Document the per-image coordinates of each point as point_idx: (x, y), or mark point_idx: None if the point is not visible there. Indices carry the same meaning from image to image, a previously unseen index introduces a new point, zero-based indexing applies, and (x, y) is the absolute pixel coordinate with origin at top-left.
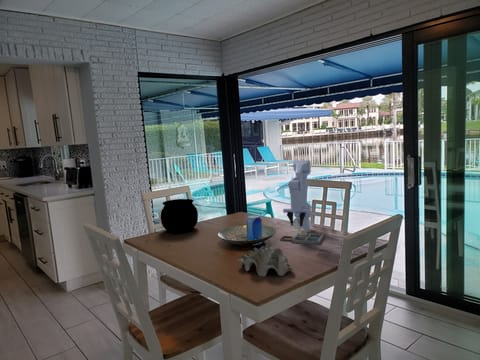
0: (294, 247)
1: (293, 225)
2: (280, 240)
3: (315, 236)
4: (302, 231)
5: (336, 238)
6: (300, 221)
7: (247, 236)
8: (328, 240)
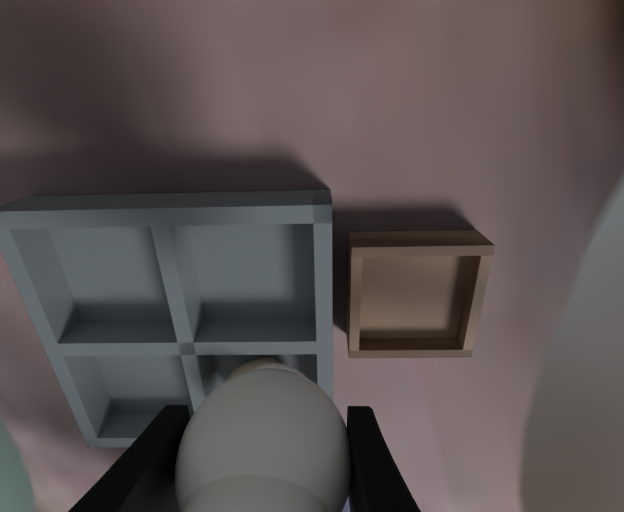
0: (262, 86)
1: (314, 398)
2: (478, 237)
3: None
4: None
5: (27, 433)
6: (112, 503)
7: None
8: (54, 381)
